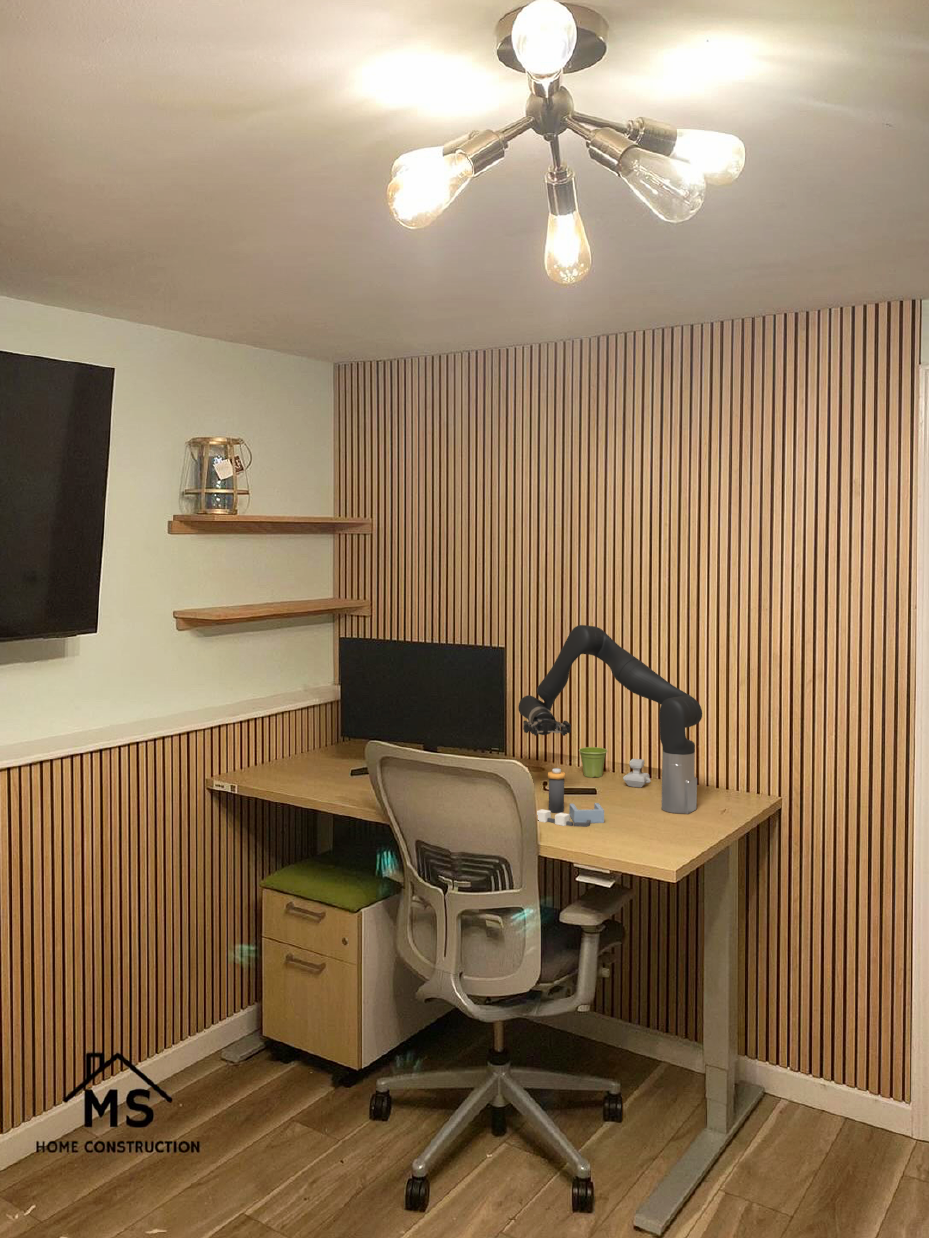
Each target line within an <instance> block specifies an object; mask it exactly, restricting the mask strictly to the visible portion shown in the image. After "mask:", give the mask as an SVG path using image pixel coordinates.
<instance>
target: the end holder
mask: <svg viewBox="0 0 929 1238" xmlns="http://www.w3.org/2000/svg"><path fill="white" fill-rule="evenodd" d="M593 806H594V807H593V809H578V808H577V806H576V805H575V803H569V805H568V807H569V809H568V810H569V811H568V812H569V813H568V814H570V820H571V822H573V823H574V822H586V821H587V820H591V823H590V824H603V823H605V809H604V808H603V806H602V805H600V802H594V805H593Z"/></svg>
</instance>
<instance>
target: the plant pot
mask: <svg viewBox="0 0 929 1238" xmlns="http://www.w3.org/2000/svg"><path fill="white" fill-rule="evenodd" d="M578 752H579V754H580V757H581V762H582V771H583V775H584V777H586V778H594V777H595V778H600V777H602V776H603V771H604V766H605V765H604V764H605V759H606V758H605V757H606V755H607V753H608V748H607V749H606V748H603V747H597V746H586V747H581V748H579V749H578Z"/></svg>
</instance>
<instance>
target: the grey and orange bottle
mask: <svg viewBox="0 0 929 1238" xmlns="http://www.w3.org/2000/svg"><path fill="white" fill-rule="evenodd" d="M547 778H548V811H551V814H558V813H565V778H566V772H564V771H562V769H561V768H559V767H555V768H554V767H553V768H552V771H548V772H547Z"/></svg>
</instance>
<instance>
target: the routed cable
mask: <svg viewBox="0 0 929 1238" xmlns="http://www.w3.org/2000/svg"><path fill="white" fill-rule="evenodd" d="M536 811H537V815H538V820H539V821H538V822H541V823H547V822H548V823H553V824H555V825H557V826H563V827H566V826H569V827H590V825H591V824H592V823H591V820H587V821H586V822H573V821H571V817H570V814H569V813H566V812H562V813H555V814H554V818H553V817H552V813H551V811H549V809H543V808H541V809H538V810H536Z"/></svg>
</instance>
